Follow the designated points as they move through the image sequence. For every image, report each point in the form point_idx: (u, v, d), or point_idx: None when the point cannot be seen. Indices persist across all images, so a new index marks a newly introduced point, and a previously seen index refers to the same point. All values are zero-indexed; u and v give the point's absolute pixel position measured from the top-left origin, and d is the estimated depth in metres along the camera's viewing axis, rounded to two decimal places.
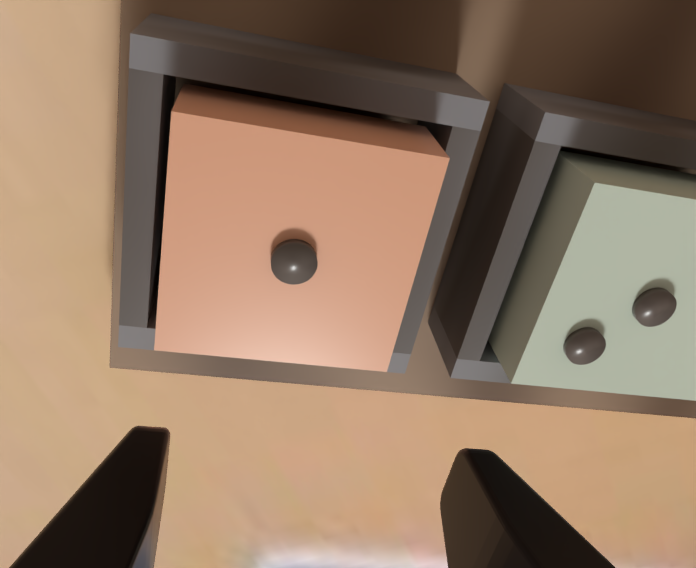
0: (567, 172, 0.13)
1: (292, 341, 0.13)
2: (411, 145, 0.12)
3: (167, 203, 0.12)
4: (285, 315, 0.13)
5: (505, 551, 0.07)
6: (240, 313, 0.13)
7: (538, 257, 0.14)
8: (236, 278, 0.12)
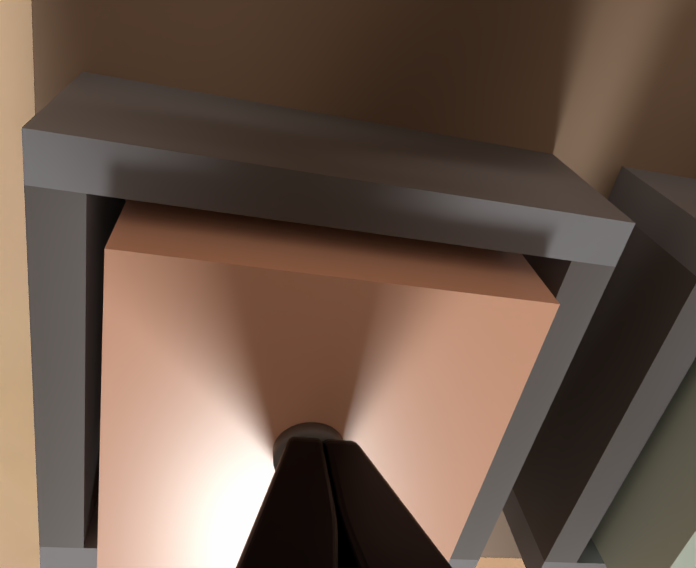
0: None
1: None
2: (496, 279, 0.08)
3: (105, 382, 0.07)
4: None
5: (339, 546, 0.06)
6: (227, 519, 0.08)
7: (684, 440, 0.09)
8: (219, 476, 0.08)
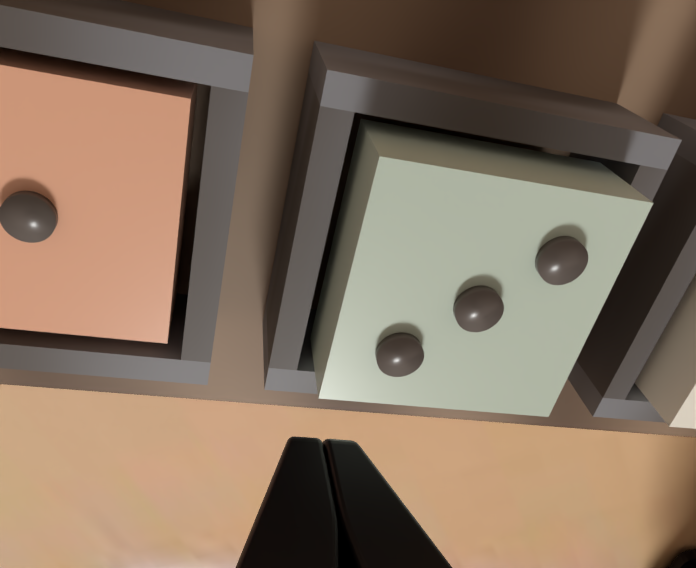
0: (365, 145, 0.11)
1: (50, 308, 0.12)
2: (153, 85, 0.11)
3: None
4: (35, 278, 0.12)
5: (339, 546, 0.06)
6: None
7: (343, 248, 0.12)
8: None
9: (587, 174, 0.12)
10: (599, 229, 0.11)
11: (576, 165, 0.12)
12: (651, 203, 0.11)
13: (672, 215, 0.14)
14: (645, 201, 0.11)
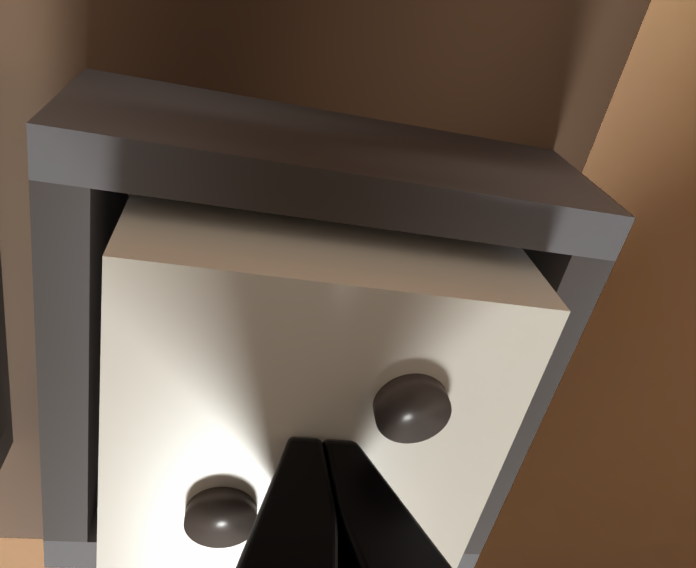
0: None
1: None
2: None
3: None
4: None
5: (339, 545, 0.06)
6: None
7: None
8: None
9: None
10: None
11: None
12: None
13: None
14: None
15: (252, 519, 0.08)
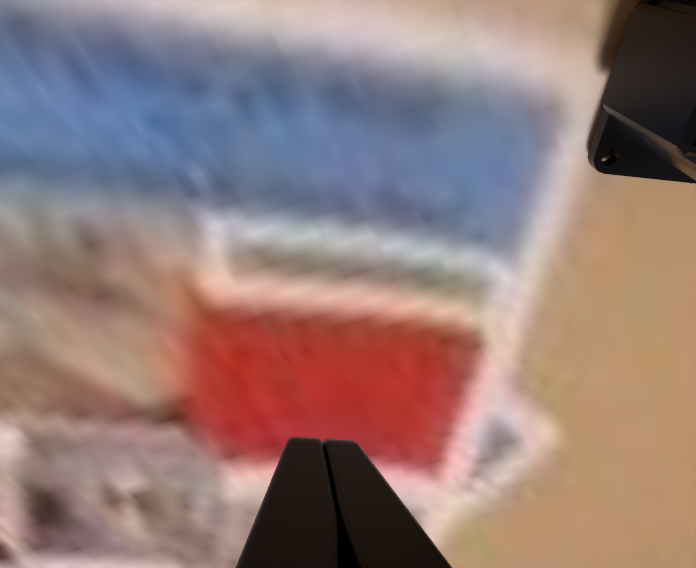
0: None
1: None
2: None
3: None
4: None
5: (339, 545, 0.06)
6: None
7: None
8: None
9: None
10: None
11: None
12: None
13: None
14: None
15: None
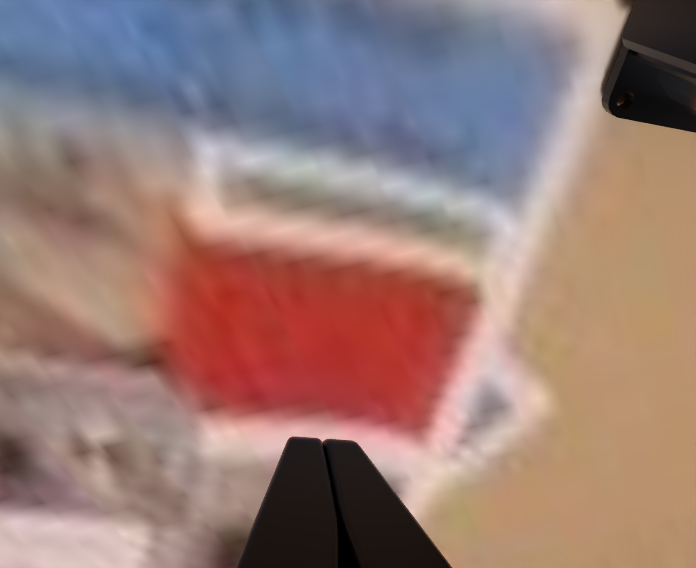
0: None
1: None
2: None
3: None
4: None
5: (339, 546, 0.06)
6: None
7: None
8: None
9: None
10: None
11: None
12: None
13: None
14: None
15: None
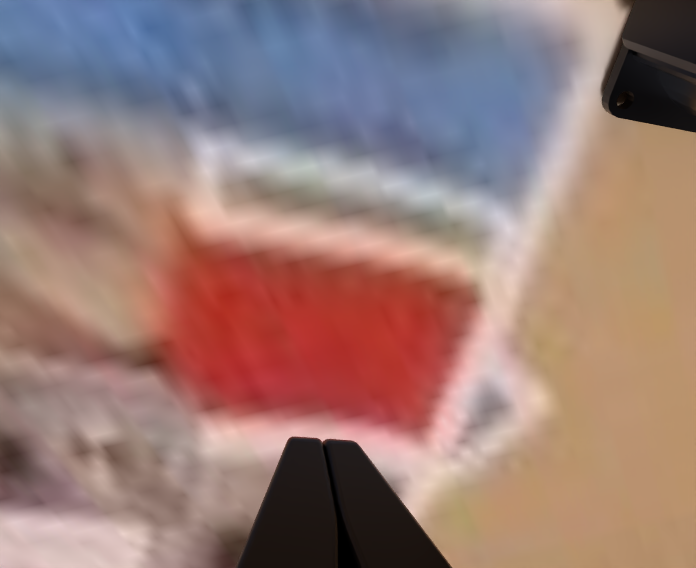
0: None
1: None
2: None
3: None
4: None
5: (339, 546, 0.06)
6: None
7: None
8: None
9: None
10: None
11: None
12: None
13: None
14: None
15: None
